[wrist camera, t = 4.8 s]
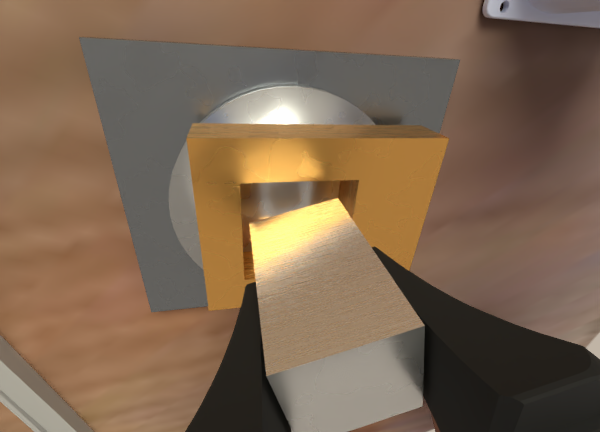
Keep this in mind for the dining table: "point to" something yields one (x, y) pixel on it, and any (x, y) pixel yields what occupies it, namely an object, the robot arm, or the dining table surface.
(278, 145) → the bracket rosette
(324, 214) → the rectangular block
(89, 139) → the dining table surface
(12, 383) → the adjustable wrench
